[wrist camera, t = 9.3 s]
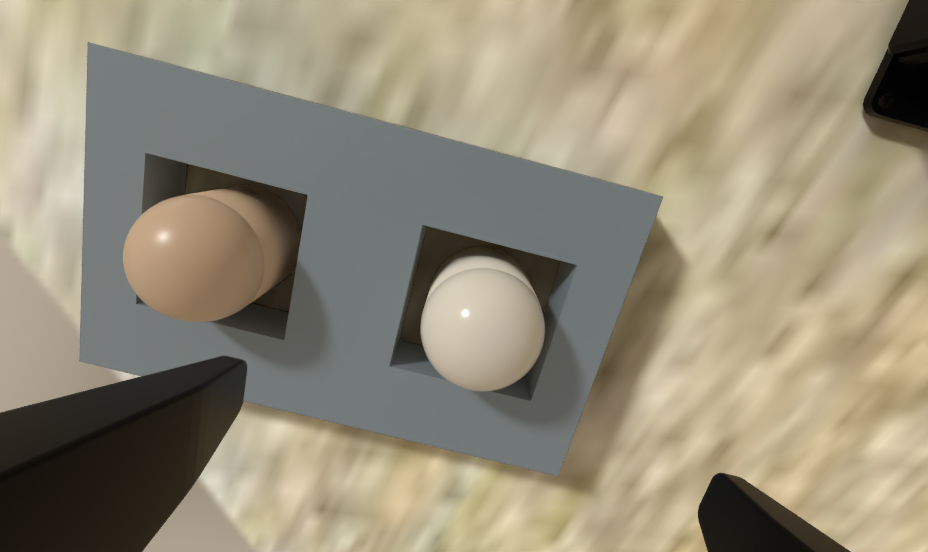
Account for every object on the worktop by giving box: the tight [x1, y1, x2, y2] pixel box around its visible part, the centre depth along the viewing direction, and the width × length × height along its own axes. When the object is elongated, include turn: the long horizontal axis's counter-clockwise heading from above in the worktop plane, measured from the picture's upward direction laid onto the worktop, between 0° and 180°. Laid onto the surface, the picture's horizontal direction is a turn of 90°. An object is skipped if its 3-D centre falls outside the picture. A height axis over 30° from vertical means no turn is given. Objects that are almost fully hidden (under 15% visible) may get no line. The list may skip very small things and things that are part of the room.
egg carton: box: [79, 42, 663, 476], centre depth 17 cm, size 20×12×6 cm, turn 75°
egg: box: [420, 247, 545, 391], centre depth 17 cm, size 4×4×6 cm
